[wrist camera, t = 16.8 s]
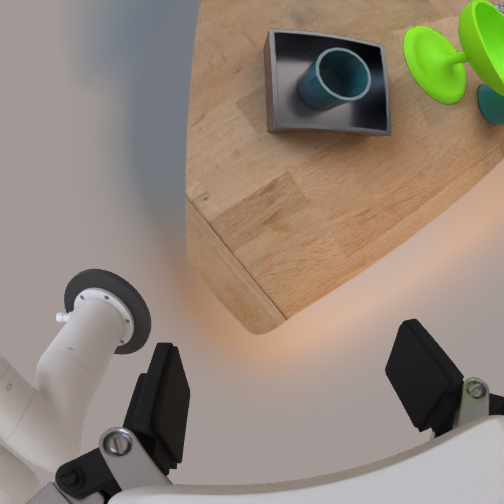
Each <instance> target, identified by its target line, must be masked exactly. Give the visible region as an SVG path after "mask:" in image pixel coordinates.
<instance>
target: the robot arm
mask: <svg viewBox="0 0 504 504" xmlns="http://www.w3.org/2000/svg"><path fill="white" fill-rule="evenodd" d="M56 320H57V321H58V322H60V323H66V324H65V326H64V327H63V328H62V329H61V331H60V332H59V333H58V335H57V336H56V337H55V339H54V340H53V342H52V343H51V344H50V346H49V347H48V348H47V350H46V351H45V352H44V354H43V355H42V357H41V358H40V360H39V362H38V365H37V369H36V387H37V389H35V388H34V387H33V386H31V385H30V384H29V383H28V382H27V381H26V380H25V379H24V378H23V377H22V376H21V375H20V374H19V373H18V372H17V371H16V369H15V368H13V366H12V365H11V364H10V363H9V362H8V361H7V360H6V359H5V358H4V357H3V356H2V355H1V354H0V438H1V439H2V440H3V441H4V442H5V443H6V444H7V445H8V446H9V447H11V448H12V449H13V450H14V451H16V452H17V453H18V454H20V455H21V456H22V457H24V458H25V459H26V460H28V461H29V462H31V463H32V464H34V465H35V466H37V467H39V468H41V469H43V470H45V471H48V472H51V473H56V477H55V478H56V479H55V480H56V481H55V482H54V483H52V482H49V483H48V484H47V485H46V486H45V487H43V488H42V489H41V488H40V482H39V479H38V477H37V476H36V474H35V473H34V472H33V471H32V470H31V469H30V468H29V467H28V466H27V465H25V463H23V462H22V461H21V460H20V459H18V458H17V457H16V456H15V455H13V454H12V453H11V452H10V451H8V450H7V449H6V448H5V447H4V446H3V445H1V444H0V504H504V397H502V396H498V395H494V394H490V393H489V388H488V386H487V384H486V383H485V382H484V381H483V380H481V379H480V378H476V377H472V378H468V379H467V380H466V381H465V382H464V381H463V378H464V376H463V375H462V373H461V372H460V371H459V370H458V368H457V367H456V366H455V364H454V363H453V362H452V361H451V359H450V358H449V357H448V356H447V354H446V353H445V352H444V351H443V349H442V348H441V347H440V346H439V345H438V343H437V342H436V341H435V340H434V339H433V337H432V336H431V335H430V334H429V333H428V332H427V330H426V329H425V328H424V327H423V326H422V325H421V324H420V322H419V321H418V320H417V319H410V320H406V321H403V323H402V325H400V327H399V330H398V333H397V336H396V339H395V342H394V345H393V348H392V351H391V354H390V357H389V360H388V362H387V366H386V368H385V371H386V375H387V377H388V379H389V380H390V382H391V384H392V386H393V388H394V390H395V391H396V393H397V395H398V397H399V399H400V400H401V402H402V404H403V406H404V408H405V410H406V412H407V414H408V415H409V417H410V419H411V421H412V423H413V425H414V426H415V427H416V428H418V429H419V431H420V432H422V431H424V430H427V429H429V428H430V427H431V428H432V434H431V438H430V441H428V442H426V443H424V444H421V445H419V446H417V447H414V448H412V449H409V450H407V451H404V452H402V453H399V454H397V455H394V456H391V457H388V458H385V459H383V460H379V461H376V462H373V463H370V464H367V465H363V466H360V467H356V468H352V469H349V470H345V471H341V472H336V473H332V474H327V475H322V476H317V477H312V478H306V479H300V480H293V481H285V482H277V483H266V484H251V485H179V484H178V485H174V484H173V483H172V482H171V481H170V480H169V478H168V477H167V475H168V474H169V469H177V463H181V462H182V456H183V446H184V439H185V431H186V422H187V415H188V408H189V400H190V389H189V386H188V382H187V379H186V375H185V372H184V369H183V365H182V361H181V358H180V355H179V350H178V347H177V346H173V344H172V343H157V345H156V348H155V351H154V354H153V357H152V360H151V363H150V366H149V369H148V372H147V373H141V374H140V376H139V378H138V381H137V383H136V386H135V390H134V392H133V395H132V398H131V401H130V405H129V408H128V411H127V414H126V417H125V420H124V424H123V427H114V428H110V429H108V430H107V431H105V432H104V433H103V434H102V435H101V437H100V439H99V447H98V448H96V449H94V450H92V451H91V452H88V453H86V454H84V455H82V456H80V457H78V455H79V451H80V445H81V437H82V431H83V426H84V421H85V418H86V415H87V412H88V409H89V406H90V404H91V401H92V399H93V397H94V395H95V392H96V390H97V388H98V386H99V384H100V381H101V379H102V377H103V375H104V373H105V371H106V369H107V366H108V364H109V362H110V360H111V358H112V356H113V354H114V352H115V350H116V348H117V346H121V345H124V344H126V343H127V342H128V341H129V340H130V339H131V337H132V335H133V332H134V320H133V317H132V314H131V312H130V310H129V309H128V307H127V306H126V305H125V304H124V302H123V301H122V300H121V299H120V298H118V297H117V296H116V295H114V294H113V293H111V292H109V291H107V290H105V289H101V288H94V287H93V288H88V289H85V290H83V291H82V292H81V293H80V294H79V295H78V296H77V298H76V300H75V303H74V310H73V312H69V313H68V314H67V313H57V315H56ZM9 366H10V367H9ZM40 489H41V490H40Z"/></svg>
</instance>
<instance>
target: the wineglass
mask: <svg viewBox="0 0 504 504" xmlns="http://www.w3.org/2000/svg"><path fill="white" fill-rule="evenodd" d="M458 32H459V38H460V42H461V45H462V48H463V51H462V52H458V53H457V51H456V49H455V48H454V47H453V45H452V44H451V43H450V42H449V41H448V40H447V39H446V38H445V37H444V36H443V35H441V34H440V33H438V32H437V31H435V30H433V29H431V28H428V27H424V26H415V27H413V28H411V29H409V30H408V31H407V33H406V34H405V37H404V41H403V48H404V55H405V58H406V62H407V64H408V67H409V69H410V71H411V73H412V75H413V76H414V78H415V79H416V81H417V83H418V84H419V85H420V86H421V87H422V88H423V90H424V91H425V92H426V93H427V94H429V95H430V96H431V97H432V98H433V99H435V100H437V101H439V102H441V103H445V104H452V103H456V102H457V101H459V100H460V99H461V98H462V96H463V94H464V92H465V89H466V73H465V69H464V65H463V63H464V62H469V63H470V64H471V66H472V68H473V69H474V70H475V72H476V73H477V75H478V76H479V77H480V78H481V79H482V80H483V81H484V82H485V83H486V84H487V85H488V86H490V87H491V88H492V89H493V90H494V91H496V92H497V93H498V94H500V95H502V96H504V15H503V14H502V13H501V12H500V11H499V10H498V9H497V8H496V7H495V6H494V5H492V4H491V3H489V2H488V1H486V0H473V1H471V2H469V3H468V4H467V5H466V6H465V8H464V10H463V11H462V13H461V15H460V18H459V29H458Z"/></svg>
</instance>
